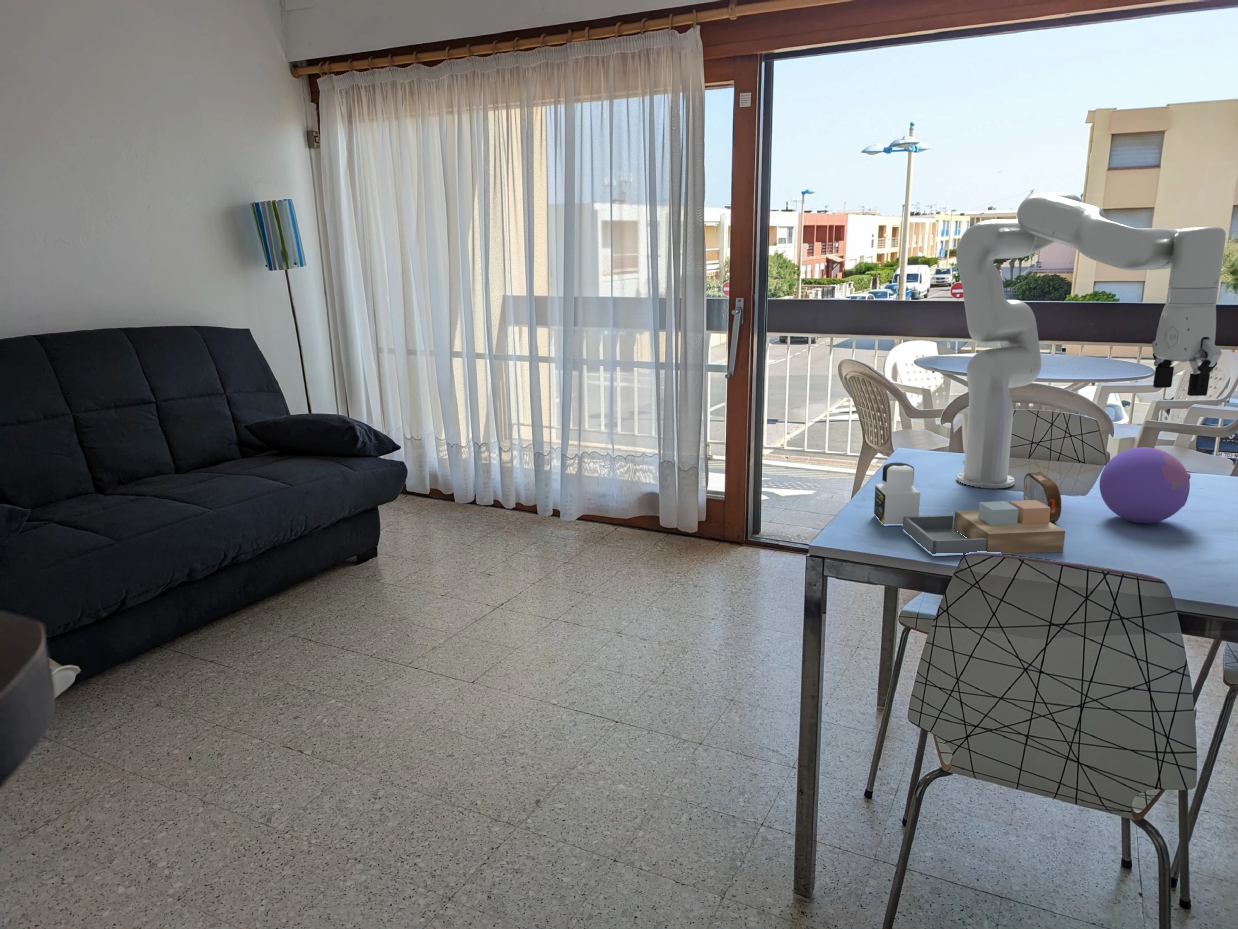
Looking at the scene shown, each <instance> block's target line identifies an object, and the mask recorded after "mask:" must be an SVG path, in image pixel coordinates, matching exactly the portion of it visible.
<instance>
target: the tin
mask: <svg viewBox="0 0 1238 929" xmlns="http://www.w3.org/2000/svg"><path fill="white" fill-rule="evenodd" d="M1061 497H1062V496H1061V492H1060V488H1059V485H1057V483H1056V481H1054V480H1053V479H1052V478H1050V477H1048V476H1047V475H1046V474H1045V473H1043V472H1042V471H1038V472H1037V471H1036V472H1028V473H1026V474H1025V476H1024V478H1023V501H1024V500H1037V501H1039V502H1041V503H1043V504H1045V505H1046V506H1048V507H1050V508H1051V509H1050V518H1049V522H1051V523H1052V522H1053V523H1055V522H1056V523H1057V522H1058V521H1059V520H1060V517H1061V514H1062V498H1061Z"/></svg>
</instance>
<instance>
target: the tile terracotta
mask: <svg viewBox="0 0 1238 929" xmlns="http://www.w3.org/2000/svg"><path fill="white" fill-rule="evenodd" d="M1009 504H1011V505H1013V506H1014V507H1016V508H1018V509H1019V510H1018V522H1020V523H1021V524H1040V523H1049V518H1050V509H1051V508H1050V507H1048V506H1046V505H1045V504H1043V503H1041V502H1039V501H1037V500H1024V499H1023V500H1010V502H1009Z"/></svg>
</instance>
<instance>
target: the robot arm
mask: <svg viewBox="0 0 1238 929" xmlns="http://www.w3.org/2000/svg"><path fill="white" fill-rule="evenodd" d="M1054 243H1058V244H1061V245H1065V246H1067V247H1070V248H1073V249H1075V250H1077V251H1078V252H1079V253H1080V254H1081V255H1083V256H1084V257H1086V258H1089V259H1090V260H1093V261H1096V262H1099V263H1102V264H1104V265H1108V266H1111V267H1113V268H1116V269H1121V270H1123V271H1124V270H1125V271H1135V272H1136V271H1148V270H1149V271H1152V270H1166V269H1170V272H1169V278H1168V279H1169V280H1168V287H1167V294H1166V301H1165V302H1166V303H1165V304H1164V307H1163V309H1162V311H1161V315H1160V318H1159V322H1158V327H1157V330H1156V337H1155V340H1154V341H1152V342H1151V348H1152V357H1153V359H1154V362H1153V366H1154V368H1155V369H1154V377H1153V385H1152V387H1153V388H1155V389H1165V388H1167V389H1169V388H1171V387H1172V386H1173V385H1172V384H1173V378H1174V372H1175V366H1174V365H1173V364H1174V363H1175V362H1179V363H1187V362H1189V365H1190V367H1191V368H1190V369H1191V371H1192V373H1190V374H1189V381H1188V386H1187V392H1186V393H1187V396H1189V397H1199V396H1200V397H1201V396H1207V395H1208V391H1209V390H1208V389H1209V385H1210V384H1209V383H1210V376H1211V374H1213V373H1214V369H1215V367H1217V364H1218V361H1219V360H1220V358H1221V355H1222V353H1223V352H1222V350H1221V349H1220V348H1219V347H1218V346H1217V345H1216V344H1215V343H1216V332H1217V308H1216V307H1217V302H1218V294H1219V287H1220V286H1219V285H1220V280H1221V272H1222V267H1223V266H1222V265H1223V258H1224V252H1225V245H1226V231H1225V229H1224V228H1222V227H1220V226H1201V227H1200V226H1199V227H1198V226H1197V227H1186V228H1182V229H1180V228H1170V227H1164V228H1163V227H1159V228H1158V227H1157V228H1156V227H1146V228H1145V227H1144V228H1139V227H1138V228H1137V227H1132V226H1129V225H1125V224H1121V223H1118V222H1115V221H1113V220H1112V221H1111V220H1108V219H1107V218H1106V213H1105V211H1104V210H1103V208H1101V207H1099V206H1096V205H1092V204H1088V203H1084V202H1083V200H1082V199H1081V198H1080V197H1079V196H1078V195H1075V194H1073V193H1069V192H1039V193H1038V192H1037V193H1034V194H1032V195H1030V196H1028V197H1027V198H1025V199H1024V200H1023V201H1022V202H1021V203H1020V205H1019V206H1018V209H1017V211H1016V219H989V220H988V219H987V220H982V221H980V222H976V223H974V224H972V225H971V226H970V227H968V229H966V230H965V231H964V233H963V234H962V236H961V237H960V240H959V242H958V245H957V246H956V247H957V249H956V253H955V260H956V261H955V262H956V267H957V271H958V273H959V274H958V275H959V278H960V282H961V287H962V293H963V294H962V296H963V302H964V309H965V316H966V323H967V329H968V333H969V336H970V338H971V339H972V340H973V341H975V342H977V343H981V344H992V343H999V344H1000V347H993V348H987V349H986V348H985V349H983V350H981V351H978V352H977V353H976V354H974V355H973V356H972V357H971V358H970V360H969V361H968V363H967V368H966V379H967V386H968V411H967V412H968V413H967V426H966V440H965V441H966V442H965V454H964V460H963V461H962V465H963V466H964V467H963V468H964V469H963V472H959V473H957V474H956V478H957V479H956V481H957V480H958V481H959V482H958V481H957V482H958V483H960V482H961V483H960V484H962V483H963V484H962V485H964V484H966V485H965V486H968V485H970V486H969V487H972V486H974V488H979V487H980V489H981V488H982V489H1005V488H1009V487H1012V486H1014V485H1015V482H1016V481H1015V478H1014V477H1013V476H1012V475H1009V465H1010V454H1011V441H1012V434H1013V433H1012V432H1013V431H1012V430H1013V421H1014V403H1013V400H1012V397H1011V392H1010V390H1009V389H1012V388H1018V387H1025V386H1028V385H1030V384H1032V383H1033V382H1035V381H1036V380H1037V378H1038V377H1039V375H1040V373H1041V370H1042V369H1041V368H1042V356H1041V355H1042V354H1041V348H1040V341H1039V335H1038V334H1039V332H1038V327H1037V326H1038V325H1037V321H1036V316H1035V314H1034V312H1033V310H1032V308H1031V306H1030V305H1029V304H1027V303H1025V302H1024V301H1021V300H1018V299H1007V298H1006V295H1005V291H1004V282H1003V278H1002V276H1001V273H1000V271H999V270H998V268H997V267H996V266H995V264H994V260H997V259H998V260H1001V259H1003V260H1005V259H1022V258H1025V257H1028V256H1031V255H1033V254H1035V253H1037V252H1039V251H1041V250H1042V249H1044V248H1047V247H1048V246H1050V245H1052V244H1054ZM1172 365H1173V366H1172Z"/></svg>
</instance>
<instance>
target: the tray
mask: <svg viewBox="0 0 1238 929" xmlns="http://www.w3.org/2000/svg"><path fill="white" fill-rule="evenodd" d="M903 529H904V530H905V531H906V532H907V533H908V534H909V535H911V536H912V537H913V538H914V539H915V540H916V541H917V542H918V543H920V544H921V545H922V546H923V547H925V548H926V549H927V550H928V551H930V552H931V553H932V554H936V553H963V555H965V554H966V553H969V552H977V551H986V541H987V539H986V538H974V539H967V538H965V537H964V536H963V535H961V534H960V533H959V532H957V531H956V530H955V529H954V515H953V514H946V515H945V514H942V515H919V516H912V517H903V526H902V530H903Z"/></svg>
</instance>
